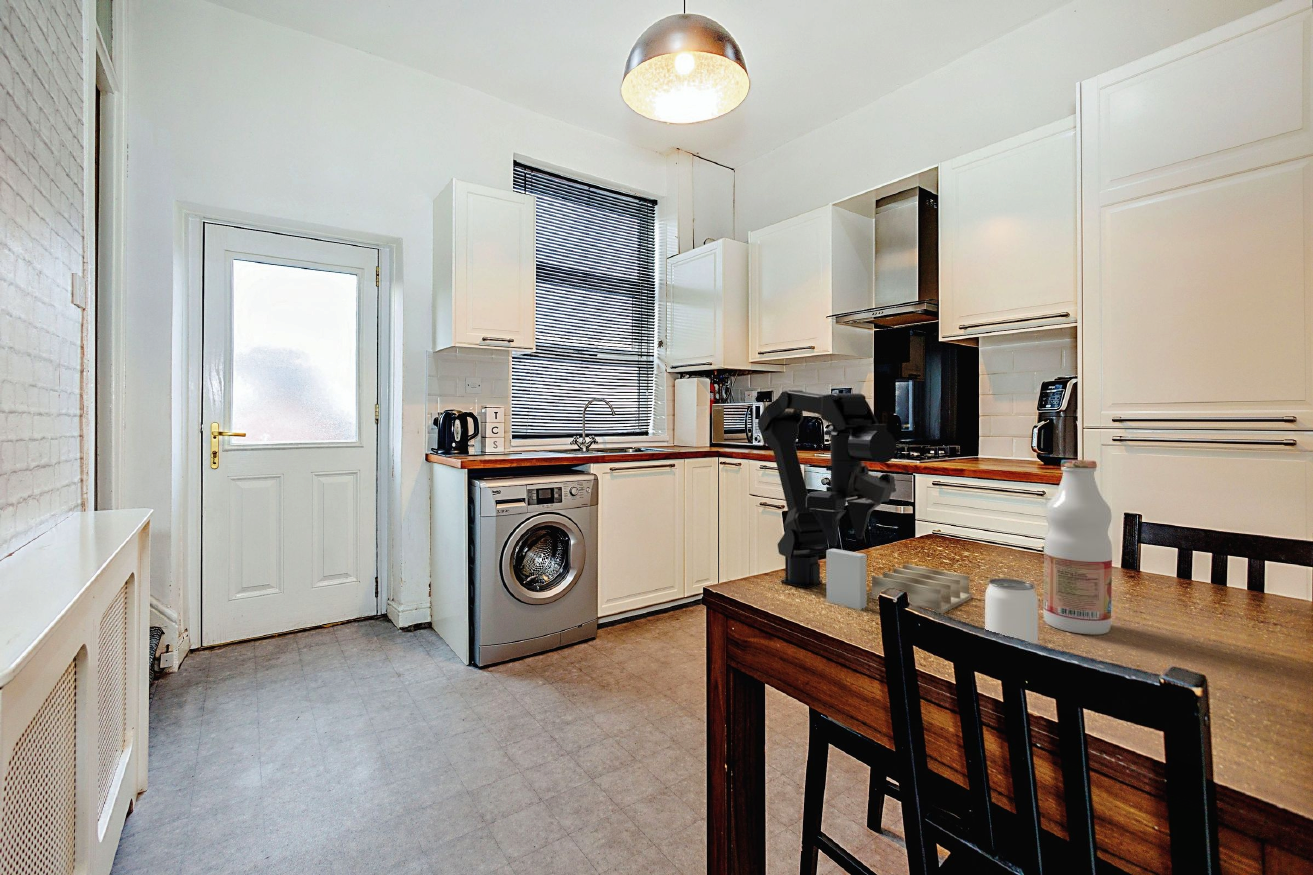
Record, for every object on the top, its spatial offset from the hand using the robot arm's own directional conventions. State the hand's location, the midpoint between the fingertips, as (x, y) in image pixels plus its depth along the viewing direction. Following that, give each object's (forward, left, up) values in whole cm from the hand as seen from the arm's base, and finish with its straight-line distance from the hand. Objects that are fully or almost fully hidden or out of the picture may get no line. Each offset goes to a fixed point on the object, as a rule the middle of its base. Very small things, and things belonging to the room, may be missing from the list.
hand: (846, 542), depth 114 cm
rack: (+8, +14, -12) cm, 20 cm away
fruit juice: (+33, +17, -12) cm, 39 cm away
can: (+31, -9, -12) cm, 34 cm away
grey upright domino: (0, 0, -12) cm, 12 cm away
